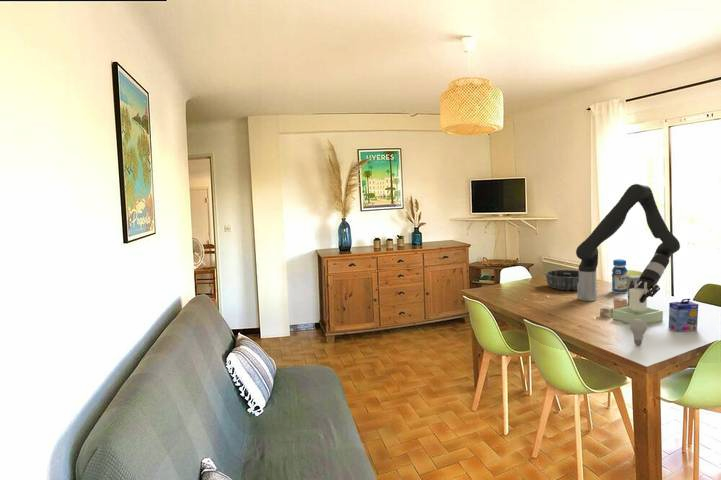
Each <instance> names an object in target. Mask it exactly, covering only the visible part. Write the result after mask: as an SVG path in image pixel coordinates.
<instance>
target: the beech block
mask: <svg viewBox="0 0 721 480" xmlns="http://www.w3.org/2000/svg"><path fill="white" fill-rule="evenodd" d="M613 310H614V307H611V306H604V305H603V306H601V307H599V317H601V318H607V319H611V318H613Z"/></svg>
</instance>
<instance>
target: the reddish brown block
mask: <svg viewBox="0 0 721 480" xmlns="http://www.w3.org/2000/svg"><path fill="white" fill-rule="evenodd" d="M624 307H628V298H627V299H626V298H622V297H620V298H619V297H617V298H613V310H614V309H619V308H624Z"/></svg>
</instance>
